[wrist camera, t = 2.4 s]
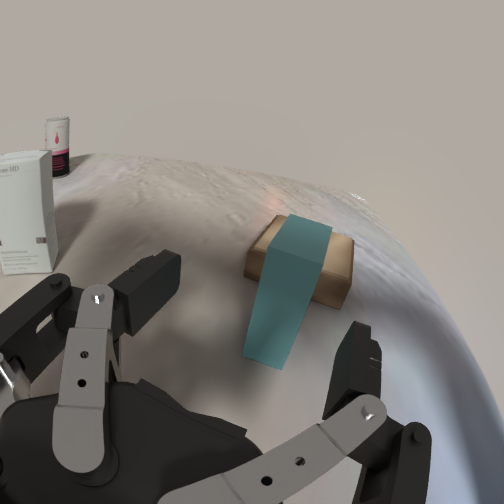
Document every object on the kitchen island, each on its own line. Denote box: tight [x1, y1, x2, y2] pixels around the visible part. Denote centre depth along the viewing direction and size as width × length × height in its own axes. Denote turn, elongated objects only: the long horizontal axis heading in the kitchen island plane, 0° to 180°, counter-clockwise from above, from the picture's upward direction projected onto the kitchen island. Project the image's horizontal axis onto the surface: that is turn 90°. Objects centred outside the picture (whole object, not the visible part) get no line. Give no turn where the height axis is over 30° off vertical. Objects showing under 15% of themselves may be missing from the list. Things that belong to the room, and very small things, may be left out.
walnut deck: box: [244, 215, 354, 309], centre depth 40 cm, size 13×13×4 cm
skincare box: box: [0, 149, 59, 275], centre depth 26 cm, size 8×6×15 cm
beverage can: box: [45, 116, 70, 179], centre depth 54 cm, size 6×7×15 cm
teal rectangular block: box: [242, 214, 333, 370], centre depth 25 cm, size 4×7×12 cm, turn 159°
